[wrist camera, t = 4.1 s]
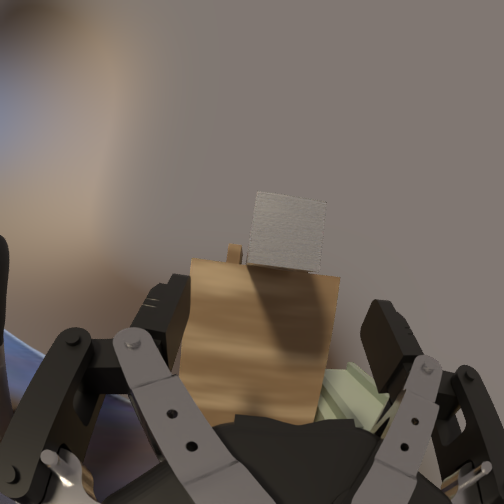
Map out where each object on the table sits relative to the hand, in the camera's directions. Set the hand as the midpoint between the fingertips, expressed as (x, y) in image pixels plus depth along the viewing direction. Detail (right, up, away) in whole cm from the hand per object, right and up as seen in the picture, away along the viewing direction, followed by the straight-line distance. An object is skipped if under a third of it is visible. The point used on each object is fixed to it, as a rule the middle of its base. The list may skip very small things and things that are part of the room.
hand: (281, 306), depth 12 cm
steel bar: (0, +1, +14) cm, 14 cm away
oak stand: (-5, -33, +16) cm, 37 cm away
